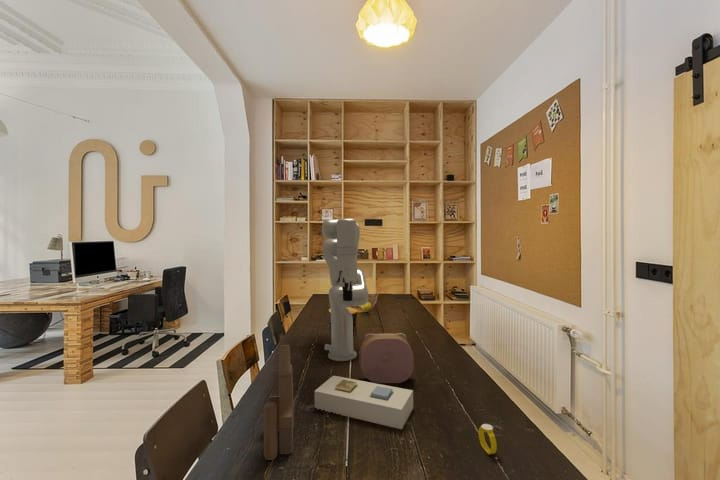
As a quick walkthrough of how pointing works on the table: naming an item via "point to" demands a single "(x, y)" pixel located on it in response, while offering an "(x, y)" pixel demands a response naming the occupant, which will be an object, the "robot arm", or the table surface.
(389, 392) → the slate-blue button
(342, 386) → the brass button
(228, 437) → the table surface
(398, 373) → the face sculpture
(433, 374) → the table surface
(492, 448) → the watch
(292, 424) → the wooden toy
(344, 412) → the button console
